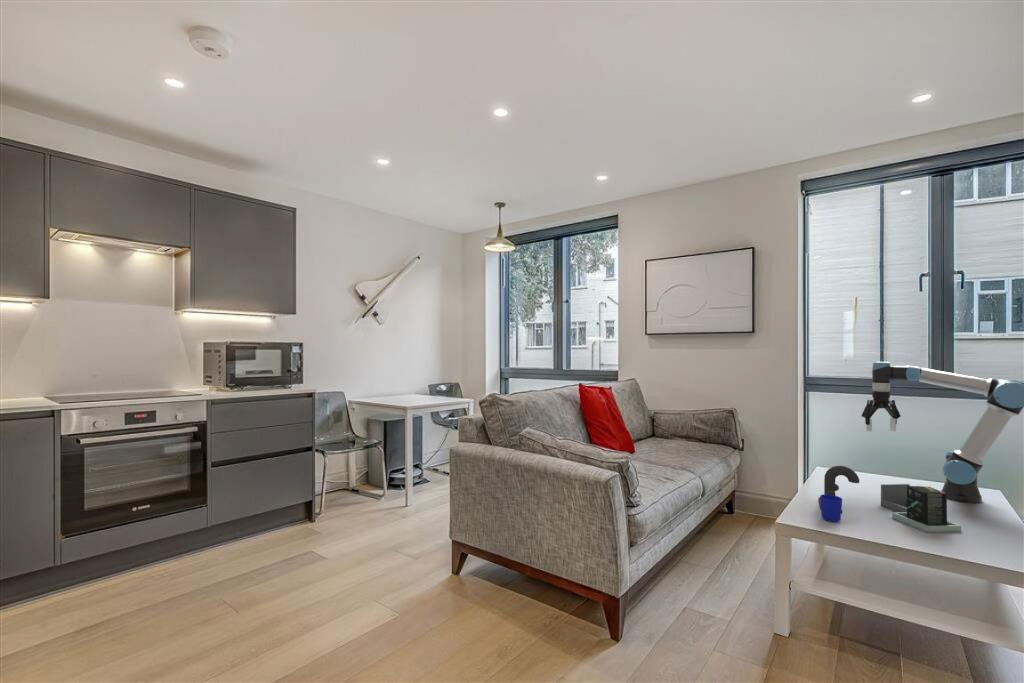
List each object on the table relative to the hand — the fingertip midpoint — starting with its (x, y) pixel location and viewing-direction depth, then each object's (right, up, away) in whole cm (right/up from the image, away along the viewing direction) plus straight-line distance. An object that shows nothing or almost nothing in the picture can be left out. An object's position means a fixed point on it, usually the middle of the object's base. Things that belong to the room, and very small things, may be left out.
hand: (881, 430), depth 258 cm
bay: (-10, -32, -31) cm, 46 cm away
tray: (-18, -31, -49) cm, 61 cm away
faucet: (-41, -32, -28) cm, 59 cm away
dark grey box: (-18, -31, -49) cm, 60 cm away
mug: (-55, -32, -42) cm, 76 cm away
